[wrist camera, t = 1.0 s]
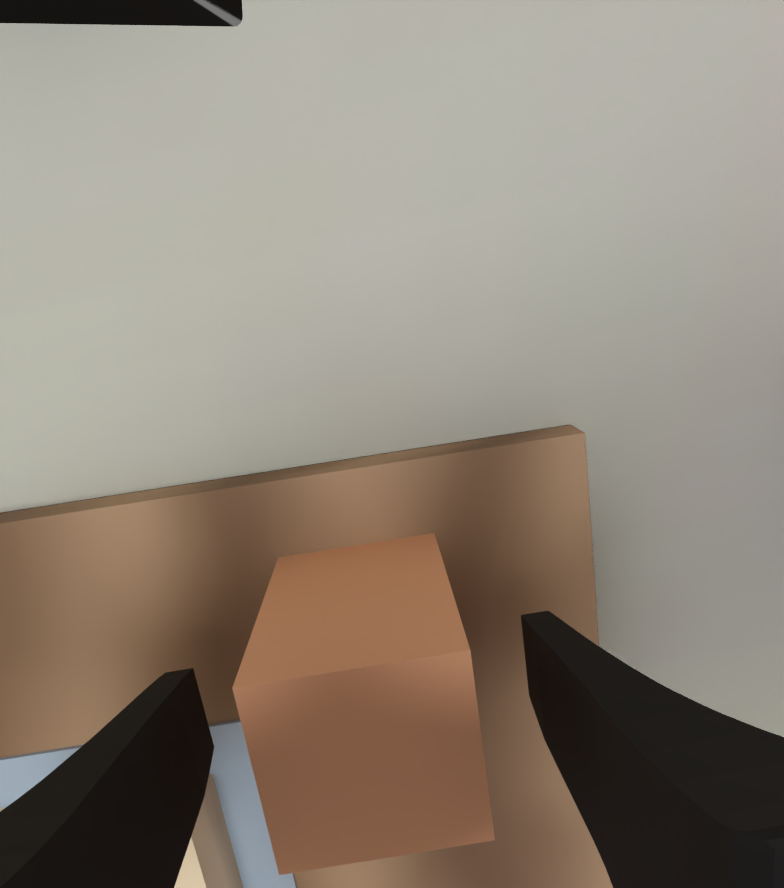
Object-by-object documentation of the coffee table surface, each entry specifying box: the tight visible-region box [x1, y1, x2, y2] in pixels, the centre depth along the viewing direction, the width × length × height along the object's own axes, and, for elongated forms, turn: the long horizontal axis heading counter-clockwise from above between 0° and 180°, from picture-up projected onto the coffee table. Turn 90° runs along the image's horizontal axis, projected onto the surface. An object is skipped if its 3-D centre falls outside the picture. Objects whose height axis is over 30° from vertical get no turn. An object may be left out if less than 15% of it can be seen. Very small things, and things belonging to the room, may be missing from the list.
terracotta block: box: [232, 533, 495, 875], centre depth 12 cm, size 4×4×5 cm
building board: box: [0, 425, 613, 888], centre depth 15 cm, size 20×16×3 cm
